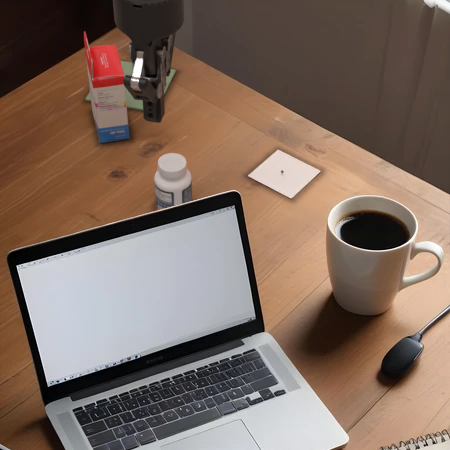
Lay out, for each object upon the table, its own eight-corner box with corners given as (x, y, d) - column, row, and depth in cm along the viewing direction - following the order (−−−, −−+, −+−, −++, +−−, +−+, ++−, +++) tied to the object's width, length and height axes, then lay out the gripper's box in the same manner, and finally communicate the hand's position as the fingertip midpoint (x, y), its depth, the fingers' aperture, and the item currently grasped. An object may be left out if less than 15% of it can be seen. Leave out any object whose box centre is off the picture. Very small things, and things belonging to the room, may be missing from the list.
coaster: (321, 171, 127) (321, 167, 126) (291, 198, 123) (291, 194, 122) (278, 149, 130) (278, 145, 129) (247, 175, 126) (247, 171, 125)
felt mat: (85, 101, 137) (85, 99, 136) (109, 60, 144) (108, 58, 144) (155, 113, 135) (155, 111, 135) (176, 71, 142) (175, 69, 142)
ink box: (130, 140, 131) (124, 57, 119) (99, 144, 130) (89, 61, 118) (121, 107, 136) (114, 25, 124) (91, 111, 135) (81, 29, 123)
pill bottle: (186, 194, 123) (185, 146, 116) (196, 218, 120) (196, 170, 113) (151, 201, 122) (149, 153, 115) (160, 225, 119) (158, 177, 112)
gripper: (132, -54, 91) (140, 82, 105) (92, 8, 83) (106, 147, 97) (198, -45, 90) (198, 91, 104) (164, 20, 82) (169, 158, 96)
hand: (154, 118), depth 100 cm, fingers closed
